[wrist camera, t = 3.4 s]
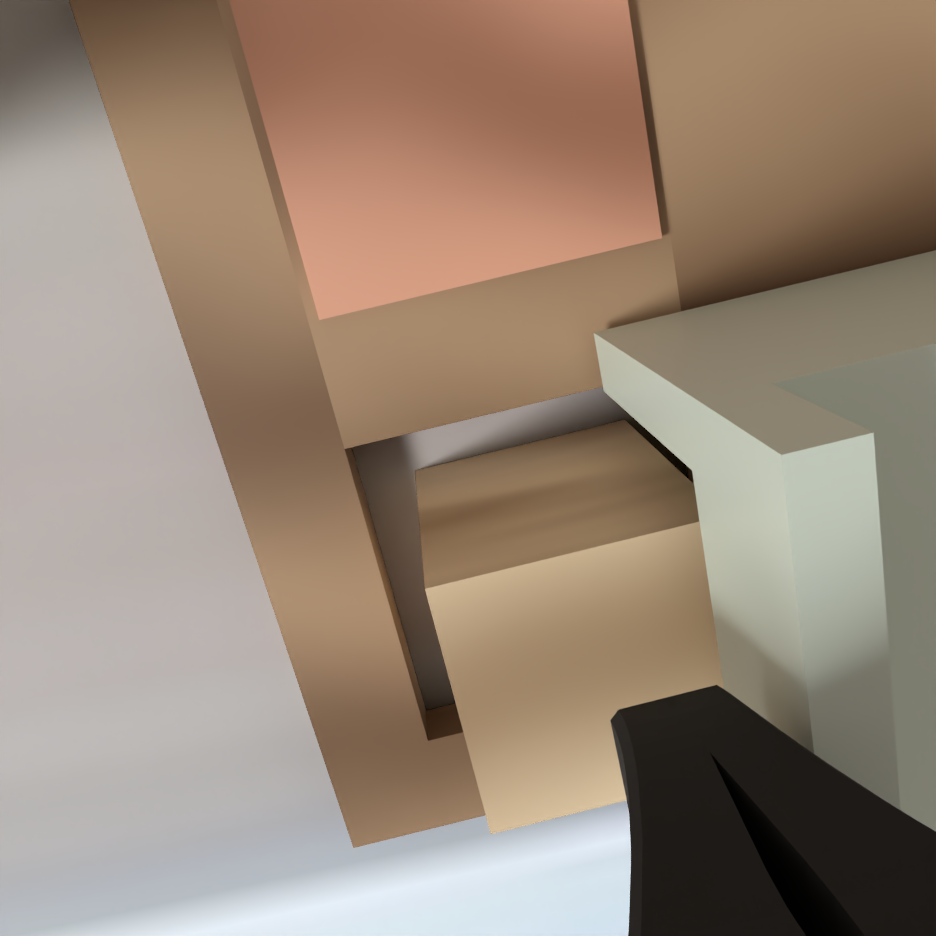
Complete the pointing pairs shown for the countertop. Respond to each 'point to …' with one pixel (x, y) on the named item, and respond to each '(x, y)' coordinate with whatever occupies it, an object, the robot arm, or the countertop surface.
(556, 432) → the countertop surface
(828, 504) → the sliding cover
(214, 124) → the puzzle board
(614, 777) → the maple block
